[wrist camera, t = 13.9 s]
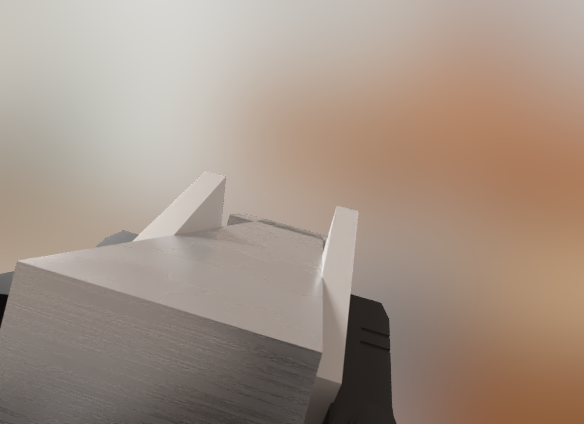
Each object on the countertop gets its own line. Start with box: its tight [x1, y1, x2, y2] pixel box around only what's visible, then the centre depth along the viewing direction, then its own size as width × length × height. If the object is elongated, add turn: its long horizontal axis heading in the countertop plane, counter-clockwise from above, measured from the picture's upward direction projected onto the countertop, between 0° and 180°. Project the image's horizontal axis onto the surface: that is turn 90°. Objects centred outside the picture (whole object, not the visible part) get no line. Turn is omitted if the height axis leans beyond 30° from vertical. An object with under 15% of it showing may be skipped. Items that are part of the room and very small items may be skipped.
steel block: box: [0, 214, 328, 424], centre depth 14 cm, size 7×20×4 cm, turn 175°
